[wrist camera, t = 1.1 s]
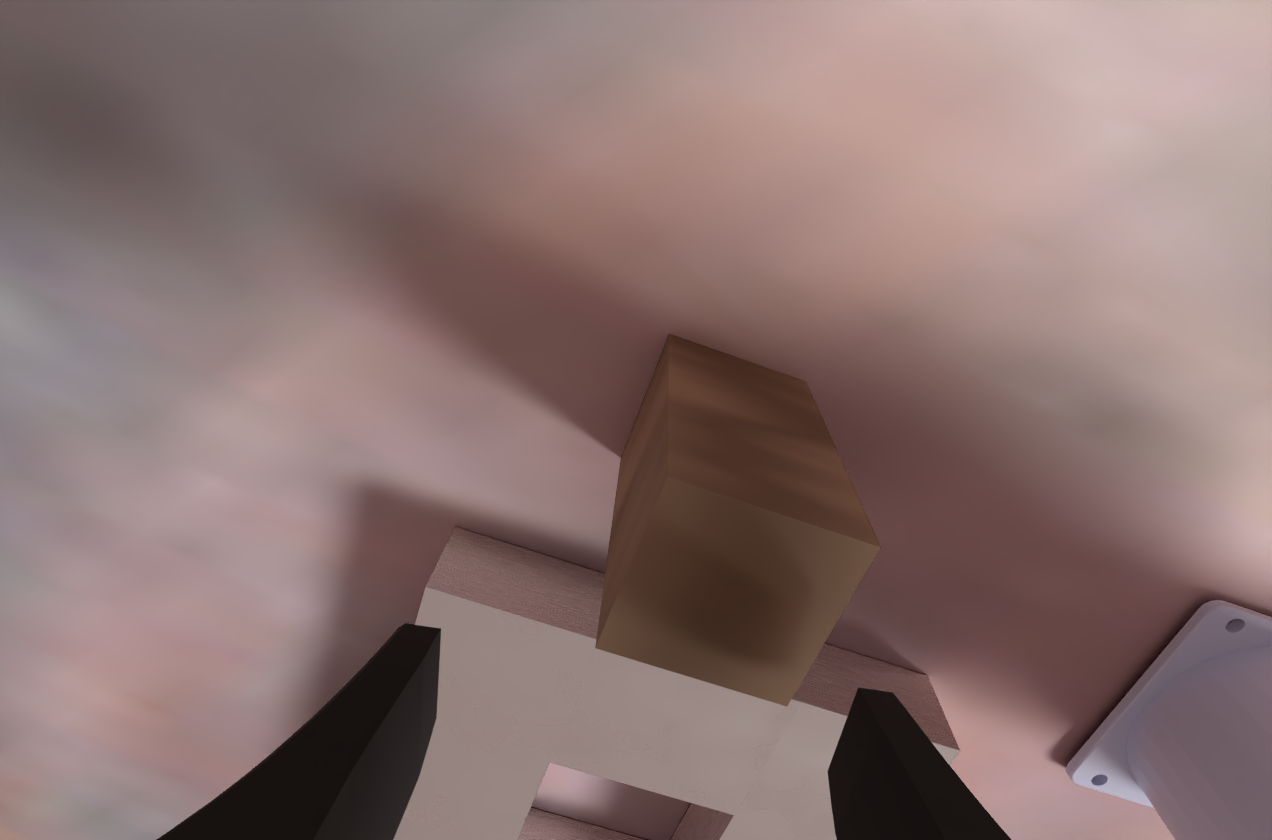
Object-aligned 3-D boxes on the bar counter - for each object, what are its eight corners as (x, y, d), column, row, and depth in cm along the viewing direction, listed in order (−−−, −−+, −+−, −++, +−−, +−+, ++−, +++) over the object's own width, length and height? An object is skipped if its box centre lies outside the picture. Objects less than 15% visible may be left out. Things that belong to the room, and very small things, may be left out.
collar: (928, 675, 24) (960, 750, 22) (738, 953, 31) (745, 1038, 28) (455, 526, 23) (425, 587, 20) (359, 851, 29) (327, 930, 26)
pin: (806, 382, 20) (880, 547, 13) (748, 500, 22) (786, 706, 15) (669, 334, 20) (667, 476, 13) (620, 457, 22) (594, 648, 14)
